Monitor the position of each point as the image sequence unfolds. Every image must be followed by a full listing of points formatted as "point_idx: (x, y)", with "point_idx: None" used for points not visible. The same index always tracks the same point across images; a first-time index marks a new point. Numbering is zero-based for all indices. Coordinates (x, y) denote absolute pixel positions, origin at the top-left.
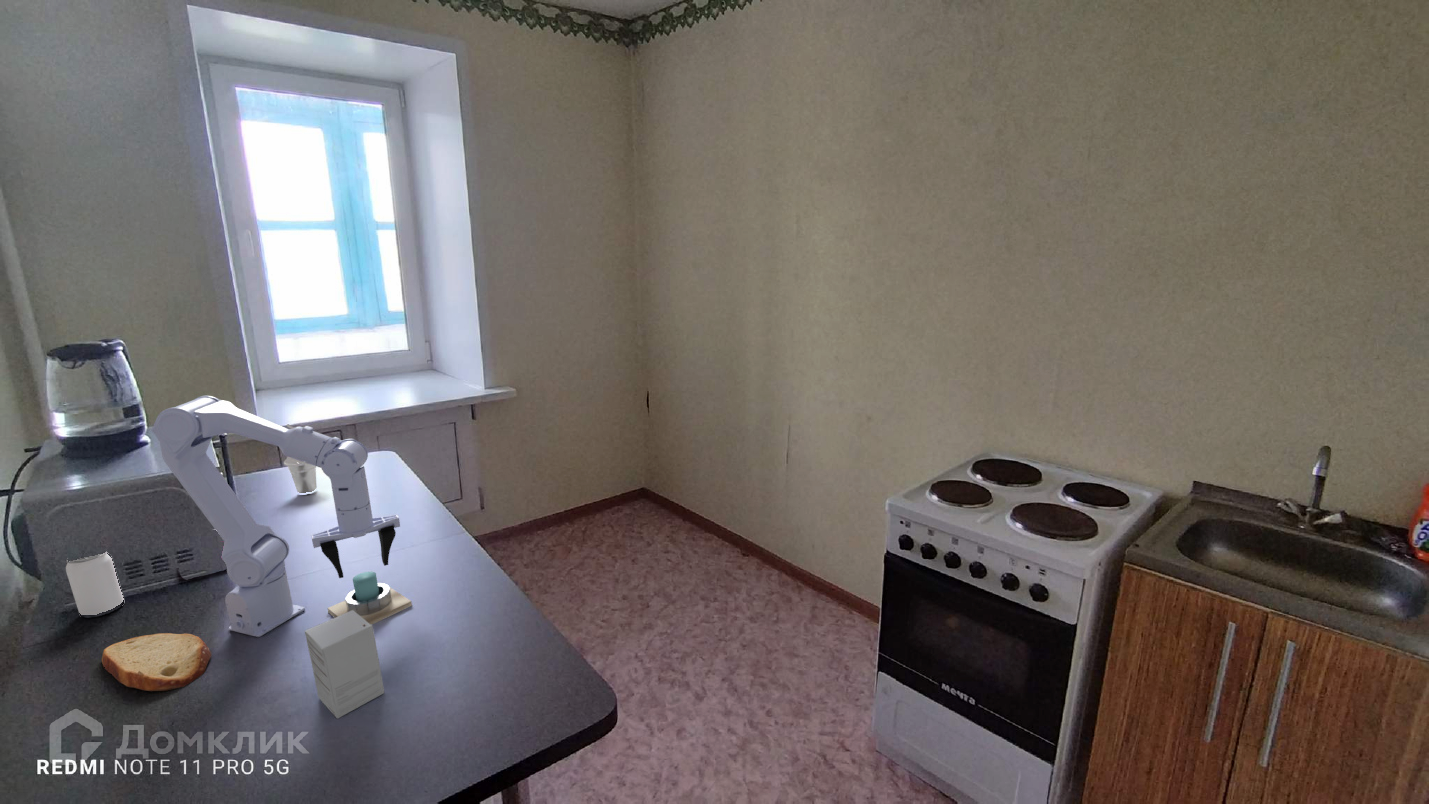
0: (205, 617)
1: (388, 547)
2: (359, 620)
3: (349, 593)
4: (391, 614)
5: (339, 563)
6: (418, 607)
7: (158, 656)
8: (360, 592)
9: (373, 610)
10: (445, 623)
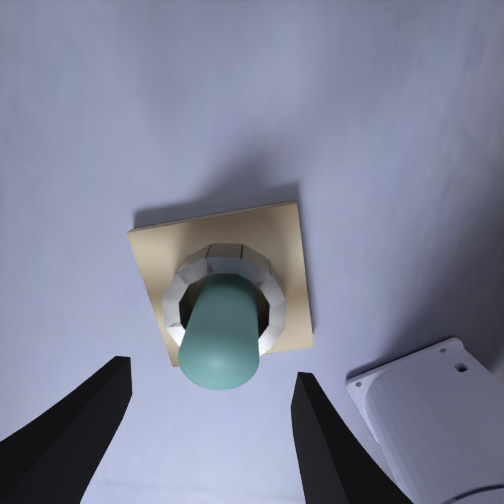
0: None
1: (25, 435)
2: None
3: (266, 347)
4: (190, 219)
5: (328, 439)
6: (118, 206)
7: None
8: (247, 309)
9: (229, 246)
10: (56, 38)
